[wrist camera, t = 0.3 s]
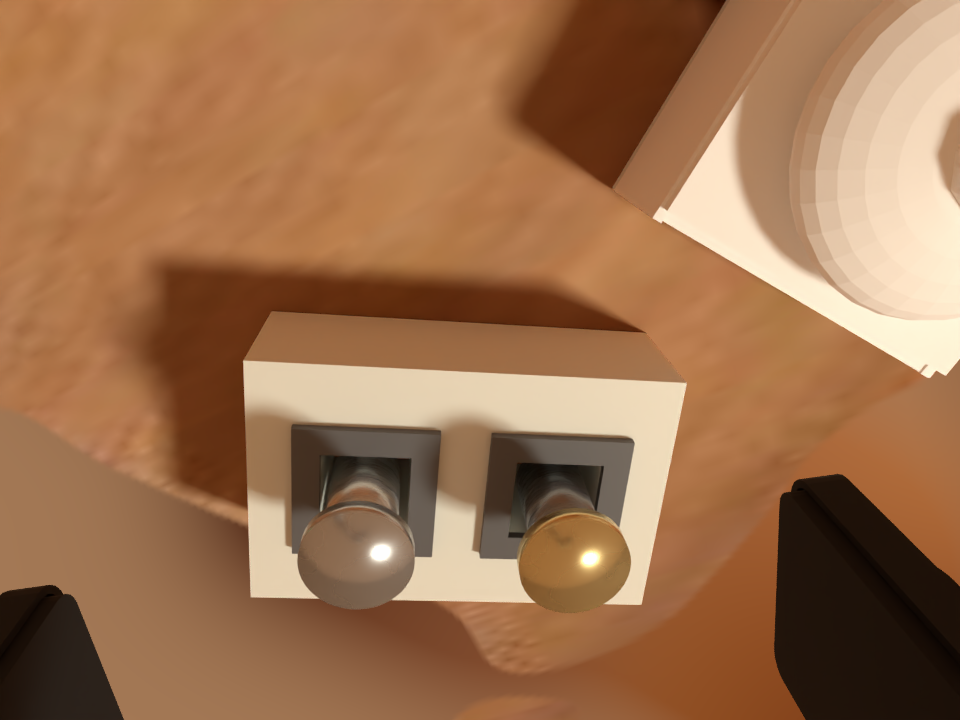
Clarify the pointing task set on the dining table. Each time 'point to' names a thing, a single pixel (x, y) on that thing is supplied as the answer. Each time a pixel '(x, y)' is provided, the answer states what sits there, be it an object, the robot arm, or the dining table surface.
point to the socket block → (453, 438)
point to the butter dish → (823, 162)
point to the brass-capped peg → (567, 542)
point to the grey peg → (359, 537)
